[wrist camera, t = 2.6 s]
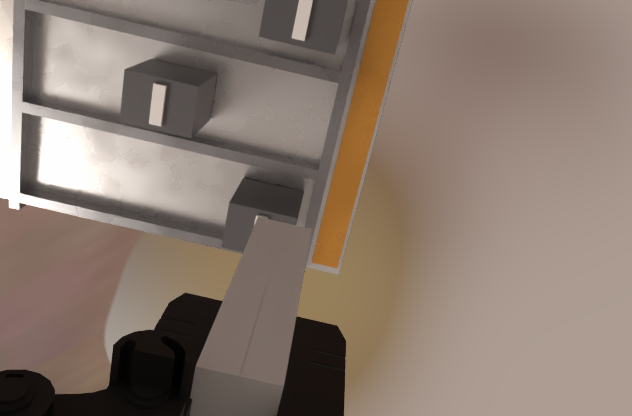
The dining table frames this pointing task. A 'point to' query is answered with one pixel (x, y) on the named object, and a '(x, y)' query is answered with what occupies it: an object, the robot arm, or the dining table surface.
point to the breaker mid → (167, 97)
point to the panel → (214, 137)
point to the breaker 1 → (304, 23)
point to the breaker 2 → (258, 210)
